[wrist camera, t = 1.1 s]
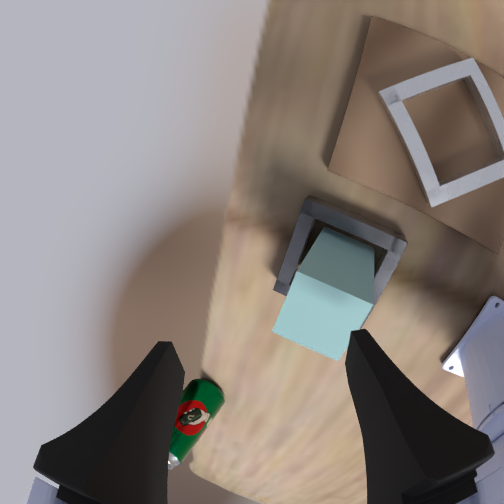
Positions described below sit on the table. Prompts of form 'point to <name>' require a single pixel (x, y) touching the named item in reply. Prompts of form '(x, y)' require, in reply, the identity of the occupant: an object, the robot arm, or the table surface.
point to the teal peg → (329, 294)
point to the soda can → (193, 417)
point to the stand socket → (349, 223)
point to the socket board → (427, 131)
